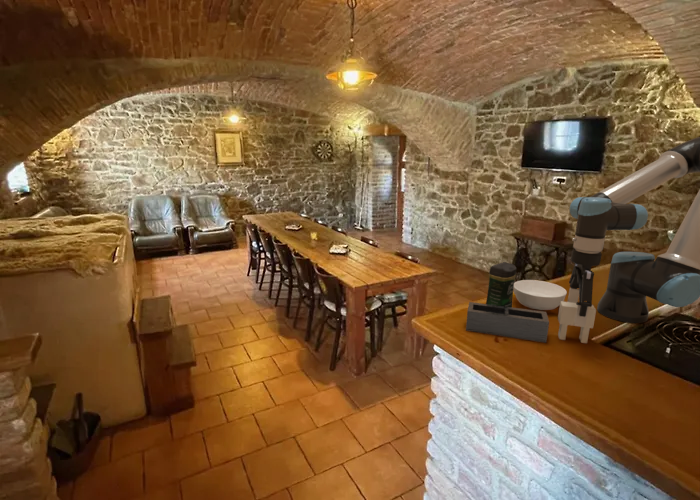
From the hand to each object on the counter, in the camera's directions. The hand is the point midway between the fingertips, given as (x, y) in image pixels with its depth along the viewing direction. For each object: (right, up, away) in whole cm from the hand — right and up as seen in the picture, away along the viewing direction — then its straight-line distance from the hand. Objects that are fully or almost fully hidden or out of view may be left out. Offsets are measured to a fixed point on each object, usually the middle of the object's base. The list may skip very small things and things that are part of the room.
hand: (575, 316), depth 118 cm
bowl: (+2, -1, +28) cm, 28 cm away
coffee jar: (-15, -3, +22) cm, 27 cm away
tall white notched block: (0, -8, +2) cm, 8 cm away
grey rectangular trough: (-19, -6, +8) cm, 21 cm away
